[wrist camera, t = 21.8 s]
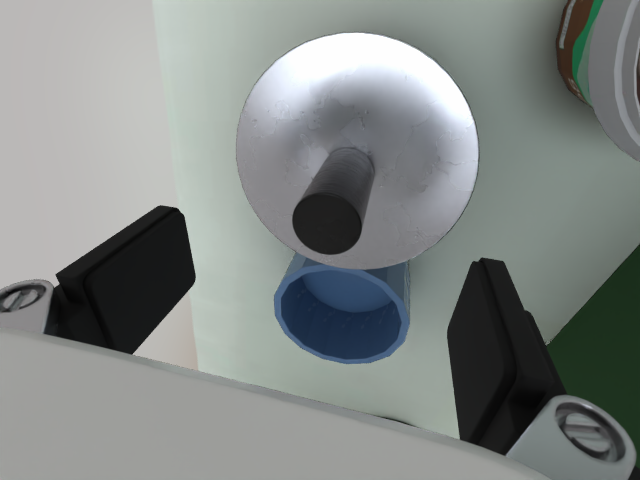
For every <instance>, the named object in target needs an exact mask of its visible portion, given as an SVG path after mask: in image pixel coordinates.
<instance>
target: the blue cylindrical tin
mask: <svg viewBox="0 0 640 480" xmlns="http://www.w3.org/2000/svg"><path fill="white" fill-rule="evenodd" d="M274 308H275V316H276V318H277V320H278V322H279V324H280V326H281V328H282V329H283V331H284V333H285V334H286V335H287V336H288V337H289V338H290V339H291V340H292V341H294V342H295V343H296V344H297V345H298V346H299V347H300V348H302V349H304V350H306V351H308V352H310V353H312V354H314V355H316V356H318V357H320V358H322V359H325V360H330V361H334V362H339V363H343V364H361V363H371V362H374V361H377V360H380V359H382V358H385V357H388V356H390V355H391V354H392V353H393V352H394V351H395V350H397V349H398V348H399V347H400V346H401V345H402V344H403V343H404V342H405V339H406V335H407V332H408V328H409V325H410V275H409V269H408V264H407V261H405V262H402V263H398V264H395V265H392V266H388V267H383V268H377V269H365V270H363V269H345V268H338V267H334V266H329V265H325V264H322V263H320V262H317V261H314V260H312V259H309V258H307V257H305V256H303V255H301V254H299V253H298V252H296V254H295V255H294V257H293V259H292V261H291V263H290V265H289V267H288V269H287V271H286V273H285V275H284V277H283V279H282V281H281V283H280V285H279V287H278V289H277V291H276V293H275V295H274Z"/></svg>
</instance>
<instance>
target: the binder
mask: <svg viewBox="0 0 640 480" xmlns="http://www.w3.org/2000/svg"><path fill="white" fill-rule="evenodd" d="M547 350H548V352H549V354H550V356H551V359H552V361H553V363H554V365H555V368H556V370H557V372H558V374H559V377H560V379H561V381H562V383H563V386H564V388H565V390H566V392H567V395H570V396H576V397H579V398H582V399H584V400H587V401H589V402H591V403H593V404H595V405H596V406H598V407H600V408H601V409H603V410H604V411H605V412H607V413H608V414H609V415H610V416H612V417H613V418H614V419H615V420H616V421H617V422H618V423H619V424H620V425H621V426H622V427H623V428H624V429H625V431H626V432H627V434H628V435H629V437H630V439H631V440H632V442H633V444H634V448H635V451H636V462H635V465H636V466H637V467H638V468H639V469H640V245H639V246H638V247H637V248H636V249H635V251H634V252H633V253H632V254H631V255H630V256H629V257H628V258H627V259H626V260H625V261H624V263H623V264H622V265H621V266H620V267H619V268H618V269H617V270H616V271H615V272H614V274H613V275H612V276H611V277H610V278H609V279H608V280H607V281H606V282H605V283H604V284H603V286H602V287H601V288H600V289H599V290H598V291H597V292H596V293H595V294H594V295H593V296H592V298H591V299H590V300H589V301H588V302H587V303H586V304H585V305H584V306H583V307H582V308H581V310H580V311H579V312H578V313H577V314H576V315H575V316H574V317H573V318H572V319H571V320H570V322H569V323H568V324H567V325H566V326H565V327H564V328H563V329H562V330H561V331H560V333H559V334H558V335H557V336H556V337H555V338H554V339H553V340H552V341H551V342H550V343H549V345H548V346H547Z"/></svg>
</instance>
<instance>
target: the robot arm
mask: <svg viewBox="0 0 640 480" xmlns="http://www.w3.org/2000/svg"><path fill="white" fill-rule="evenodd" d="M56 277H57V279H58V281H59V283H60V284H59V285H58V286H56V287H55V288H54V286H53V285H52V284H51V283H50V282H49V281H46V280H39V279H34V280H26V281H22V282H18V283H15V284H12V285H10V286H7V287H4V288H3V289H1V290H0V480H640V469H639V468H638V467H637V466H636V465H635V462H636V451H635V448H634V444H633V442H632V440H631V439H630V437H629V435H628V434H627V432H626V431H625V429H624V428H623V427H622V426H621V425H620V424H619V423H618V422H617V421H616V420H615V419H614V418H613V417H612V416H610V415H609V414H608V413H607V412H605V411H604V410H603V409H601V408H600V407H598V406H596V405H595V404H593V403H591V402H589V401H587V400H584V399H582V398H579V397H576V396H570V395H567V392H566V390H565V388H564V386H563V383H562V381H561V379H560V377H559V374H558V372H557V370H556V368H555V365H554V363H553V361H552V359H551V356H550V354H549V352H548V350H547V347H546V345H545V343H544V341H543V338H542V336H541V334H540V331H539V329H538V327H537V325H536V322H535V320H534V318H533V316H532V315H531V313H530V312H528V311H525V310H524V308H523V305H522V303H521V301H520V298H519V296H518V294H517V291H516V289H515V287H514V284H513V282H512V279H511V277H510V275H509V272H508V270H507V268H506V265H505V263H504V262H503V261H500V260H494V259H488V258H481V259H480V260H479V262H476V261H473V262H472V264H471V266H470V269H469V271H468V274H467V277H466V280H465V282H464V285H463V288H462V290H461V293H460V296H459V299H458V301H457V304H456V307H455V310H454V312H453V315H452V318H451V320H450V323H449V326H448V331H447V339H448V347H449V355H450V363H451V371H452V379H453V387H454V395H455V403H456V411H457V419H458V427H459V435H460V440H459V439H455V438H452V437H449V436H446V435H443V434H439V433H435V432H432V431H428V430H424V429H421V428H417V427H413V426H410V425H406V424H403V423H401V422H397V421H393V420H388V419H384V418H381V417H377V416H373V415H369V414H365V413H361V412H357V411H354V410H350V409H346V408H342V407H338V406H334V405H330V404H326V403H322V402H319V401H315V400H311V399H307V398H303V397H299V396H295V395H291V394H287V393H284V392H280V391H276V390H272V389H268V388H264V387H260V386H256V385H252V384H248V383H244V382H240V381H236V380H232V379H228V378H224V377H220V376H216V375H212V374H208V373H204V372H200V371H196V370H192V369H188V368H184V367H180V366H176V365H172V364H168V363H163V362H160V361H156V360H152V359H147V358H143V357H139V356H135V355H132V354H133V353H134V352H135V351H136V350H137V349H138V347H139V346H140V345H141V344H142V343H143V342H144V341H145V339H146V338H147V337H148V336H149V335H150V334H151V332H152V331H153V330H154V329H155V328H156V327H157V326H158V325H159V323H160V322H161V321H162V320H163V319H164V318H165V317H166V315H167V314H168V313H169V312H170V311H171V310H172V309H173V308H174V306H175V305H176V304H177V303H178V302H179V301H180V300H181V298H182V297H183V296H184V295H185V294H186V293H187V292H188V290H189V289H190V288H191V287H192V286H193V284H194V282H195V278H196V275H195V270H194V264H193V259H192V254H191V249H190V243H189V238H188V233H187V228H186V222H185V217H184V215H183V214H182V213H181V212H180V210H179V209H178V208H174V207H168V206H161V205H160V206H157V207H156V208H154V209H153V210H151V211H150V212H148V213H147V214H145V215H144V216H142V217H141V218H139V219H138V220H136V221H135V222H133V223H132V224H130V225H129V226H127V227H126V228H124V229H123V230H121V231H120V232H118V233H117V234H115V235H114V236H112V237H111V238H109V239H108V240H107V241H105V242H103V243H102V244H100V245H99V246H97V247H96V248H94V249H93V250H91V251H90V252H88V253H87V254H85V255H84V256H82V257H81V258H79V259H78V260H76V261H75V262H73V263H72V264H70V265H69V266H67V267H66V268H64V269H63V270H61V271H60V272H58V273H57V274H56Z"/></svg>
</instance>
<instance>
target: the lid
mask: <svg viewBox="0 0 640 480" xmlns="http://www.w3.org/2000/svg"><path fill="white" fill-rule="evenodd" d="M479 158H480V155H479V138H478V133H477V128H476V123H475V120H474V117H473V114H472V111H471V109H470V106H469V104H468V102H467V100H466V98H465V96H464V95H463V93H462V91H461V89H460V88H459V86H458V85H457V84H456V82H455V81H454V80H453V78H452V77H451V76H450V75H449V73H448V72H447V71H446V70H445V69H444V68H443V67H442V66H441V65H440V64H438V63H437V62H436V61H435V60H434V59H433V58H432V57H430V56H429V55H427V54H426V53H424V52H423V51H421V50H420V49H419V48H417V47H415V46H413V45H410V44H408V43H406V42H404V41H402V40H400V39H396V38H393V37H390V36H386V35H383V34H377V33H370V32H340V33H335V34H329V35H324V36H321V37H318V38H315V39H312V40H309V41H306V42H304V43H302V44H300V45H299V46H297V47H295V48H293V49H291V50H289V51H288V52H287V53H285V54H284V55H283V56H281V57H280V58H278V59H277V60H276V61H275V62H274V63H273V64H272V65H271V66H270V67H269V68H268V69H267V70H266V71H265V72H264V73H263V74H262V76H261V77H260V78H259V80H258V81H257V82H256V84H255V85H254V87H253V88H252V90H251V92H250V94H249V96H248V98H247V99H246V102H245V105H244V107H243V110H242V113H241V116H240V120H239V124H238V129H237V138H236V160H237V166H238V172H239V176H240V180H241V183H242V187H243V189H244V191H245V194H246V196H247V199H248V201H249V202H250V204H251V206H252V208H253V210H254V211H255V213H256V214H257V216H258V217H259V218H260V220H261V221H262V223H263V224H264V225H265V226H266V227H267V228H268V229H269V230H270V232H271V233H272V234H274V235H275V236H276V237H277V238H278V239H279V240H280V241H281V242H283V243H284V244H285V245H287V246H288V247H290V248H291V249H293V250H294V251H296V252H298V253H299V254H301V255H303V256H305V257H307V258H309V259H312V260H314V261H317V262H320V263H322V264H325V265H329V266H334V267H338V268H345V269H363V270H365V269H377V268H383V267H388V266H392V265H395V264H398V263H402V262H405V261H407V260H409V259H411V258H414V257H416V256H418V255H419V254H421V253H423V252H424V251H426V250H428V249H429V248H431V247H432V246H433V245H434V244H436V243H437V242H438V241H440V240H441V239H442V238H443V237H444V236H445V235H446V234H447V233H448V232H449V231H450V230H451V229H452V227H453V226H454V225H455V223H456V222H457V221H458V220H459V218H460V217H461V215H462V213H463V212H464V210H465V208H466V206H467V205H468V203H469V200H470V198H471V195H472V193H473V190H474V187H475V183H476V179H477V175H478V167H479Z"/></svg>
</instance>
